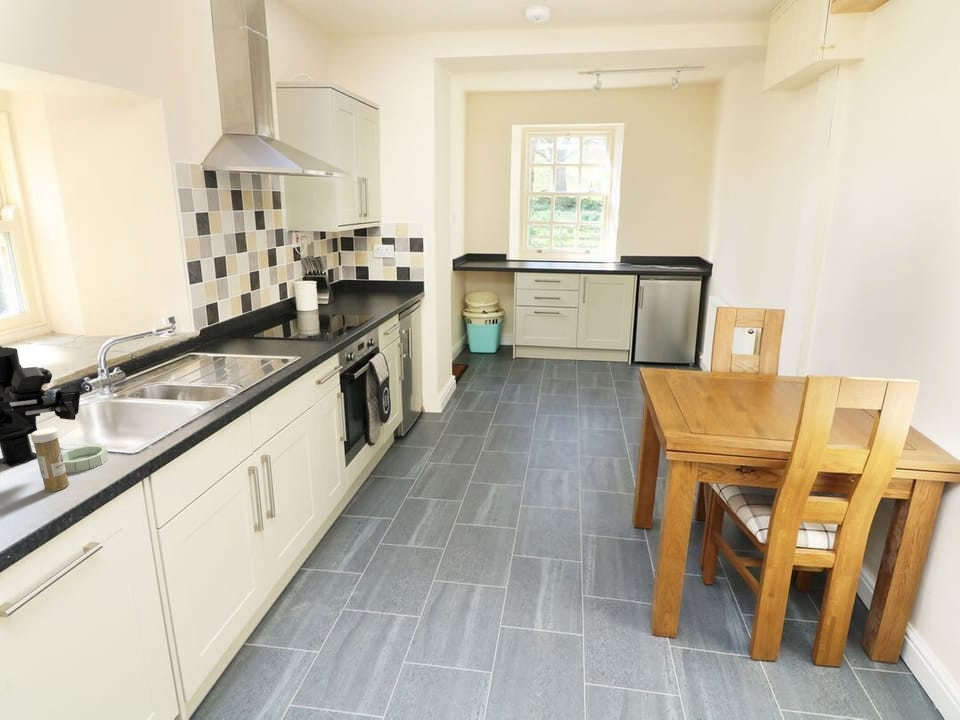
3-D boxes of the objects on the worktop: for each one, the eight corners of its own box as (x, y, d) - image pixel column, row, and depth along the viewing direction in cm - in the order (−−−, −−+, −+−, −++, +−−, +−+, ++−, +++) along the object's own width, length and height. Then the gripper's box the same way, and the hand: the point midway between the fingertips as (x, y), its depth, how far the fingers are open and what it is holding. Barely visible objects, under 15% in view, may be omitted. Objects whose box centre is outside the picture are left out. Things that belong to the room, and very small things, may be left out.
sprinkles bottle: (69, 488, 127) (56, 431, 123) (44, 494, 124) (29, 436, 121) (69, 480, 130) (56, 425, 127) (44, 486, 128) (30, 430, 124)
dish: (50, 467, 137) (47, 457, 137) (93, 451, 146) (91, 442, 145) (73, 475, 133) (71, 465, 132) (117, 458, 141) (115, 449, 141)
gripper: (-35, 366, 122) (2, 392, 115) (63, 359, 138) (100, 381, 132) (-37, 415, 124) (-1, 443, 118) (59, 402, 141) (95, 426, 134)
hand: (51, 421), depth 125 cm, fingers open, 9 cm apart
